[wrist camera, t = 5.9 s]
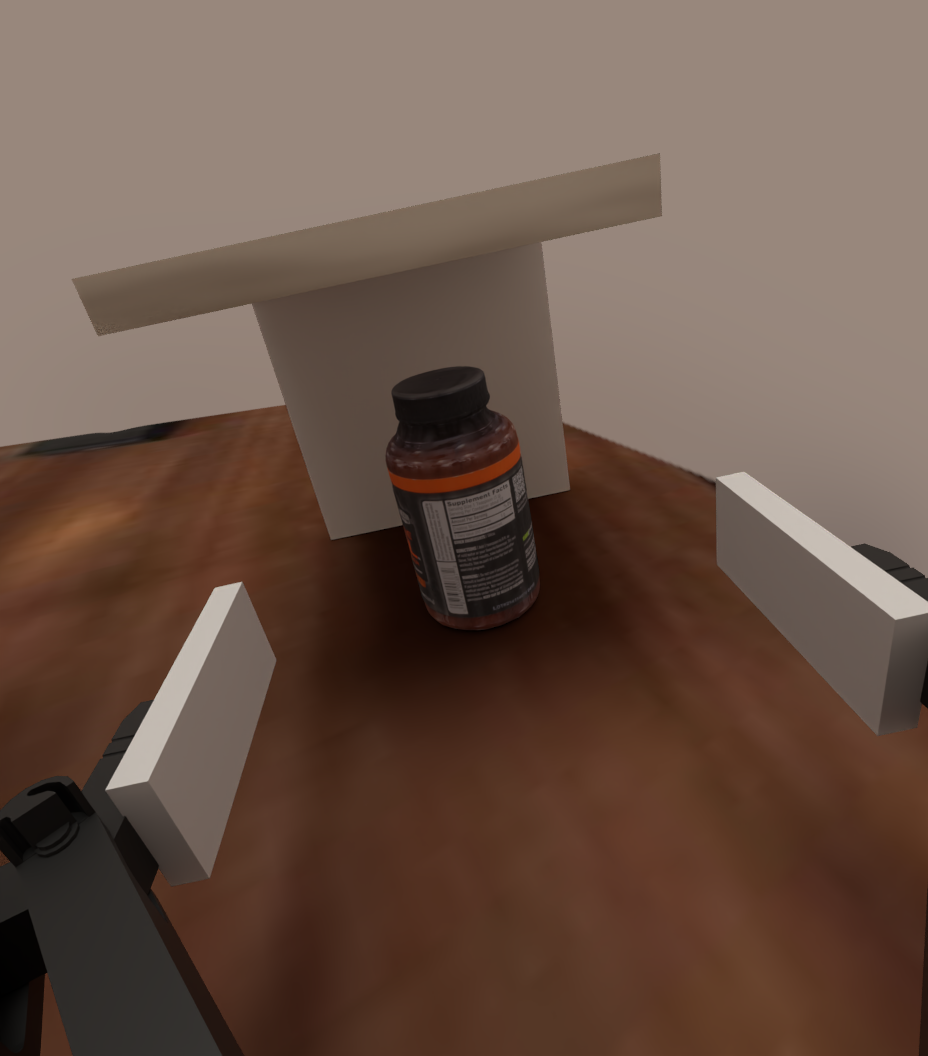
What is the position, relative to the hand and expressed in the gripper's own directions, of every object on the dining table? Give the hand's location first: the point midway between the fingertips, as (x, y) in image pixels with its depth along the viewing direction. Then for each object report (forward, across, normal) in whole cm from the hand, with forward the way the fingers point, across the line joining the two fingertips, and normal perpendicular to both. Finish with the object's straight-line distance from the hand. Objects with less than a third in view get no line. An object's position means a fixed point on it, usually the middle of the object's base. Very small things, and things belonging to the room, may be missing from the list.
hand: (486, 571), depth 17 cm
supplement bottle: (+11, 0, -8) cm, 14 cm away
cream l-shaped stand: (+13, -1, -8) cm, 16 cm away
